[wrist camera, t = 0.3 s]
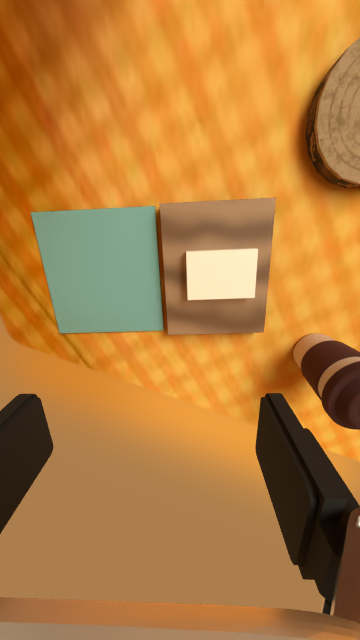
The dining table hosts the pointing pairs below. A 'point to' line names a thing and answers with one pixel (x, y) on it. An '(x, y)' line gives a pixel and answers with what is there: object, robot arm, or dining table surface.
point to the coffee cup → (332, 376)
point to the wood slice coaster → (337, 122)
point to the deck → (215, 234)
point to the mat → (102, 268)
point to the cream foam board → (221, 274)
